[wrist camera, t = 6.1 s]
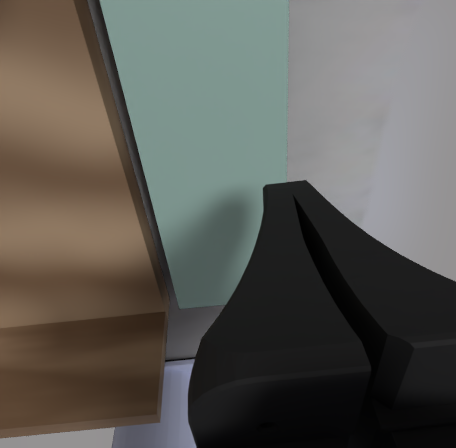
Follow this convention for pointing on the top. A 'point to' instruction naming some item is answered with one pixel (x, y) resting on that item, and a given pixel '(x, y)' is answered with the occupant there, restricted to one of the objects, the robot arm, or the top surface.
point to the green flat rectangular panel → (205, 126)
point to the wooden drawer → (71, 237)
